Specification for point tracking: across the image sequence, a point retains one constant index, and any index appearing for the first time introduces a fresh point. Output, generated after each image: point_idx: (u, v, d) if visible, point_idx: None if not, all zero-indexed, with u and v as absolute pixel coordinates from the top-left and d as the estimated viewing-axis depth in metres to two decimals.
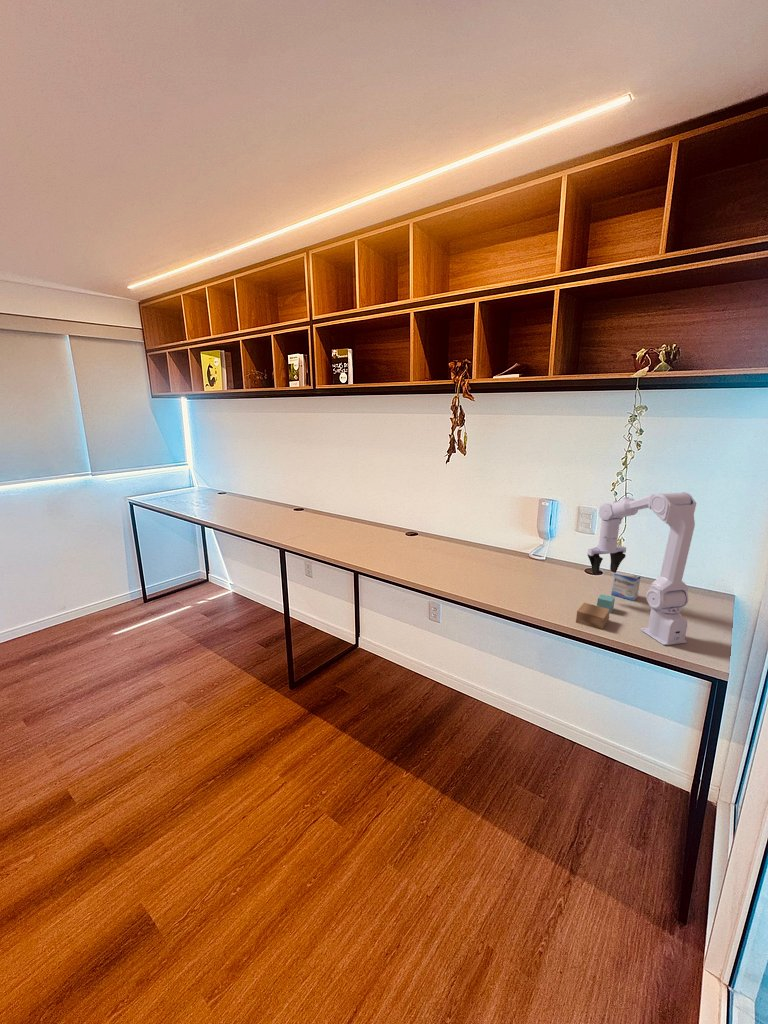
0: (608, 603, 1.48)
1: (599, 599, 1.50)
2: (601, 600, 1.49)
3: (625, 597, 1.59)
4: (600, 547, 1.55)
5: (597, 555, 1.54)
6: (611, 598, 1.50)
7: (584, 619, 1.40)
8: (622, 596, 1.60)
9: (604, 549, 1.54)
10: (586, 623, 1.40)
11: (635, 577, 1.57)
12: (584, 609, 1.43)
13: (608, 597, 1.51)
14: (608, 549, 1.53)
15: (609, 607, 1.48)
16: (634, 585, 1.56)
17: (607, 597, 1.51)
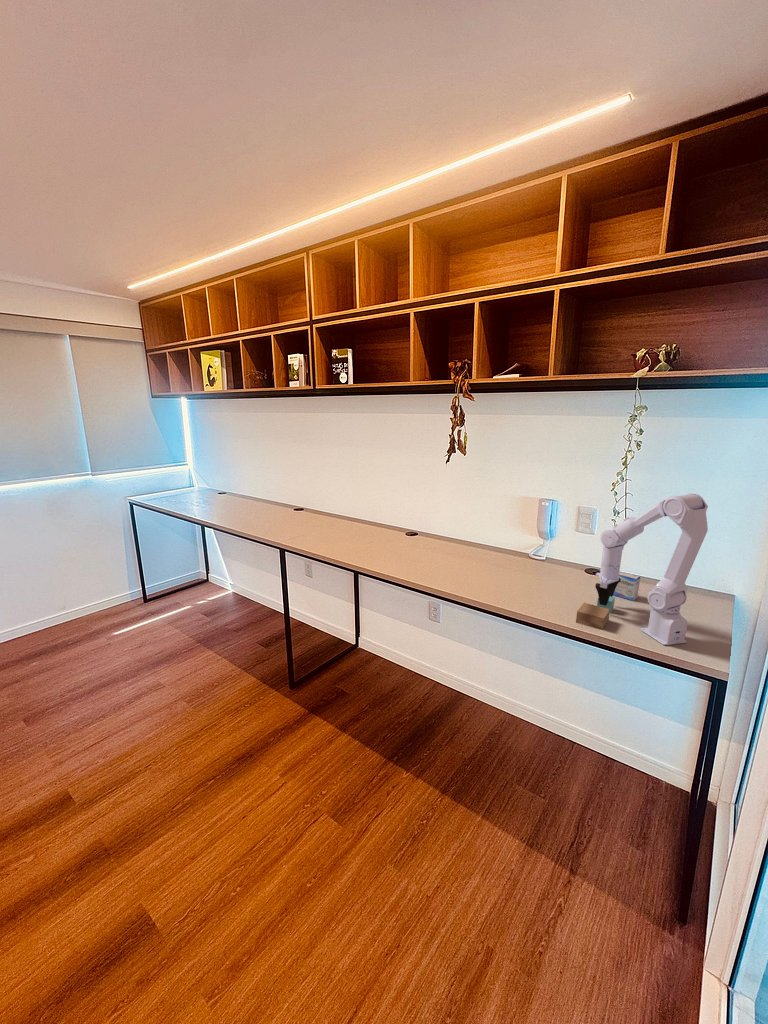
0: (608, 603, 1.48)
1: None
2: None
3: (625, 597, 1.59)
4: (606, 576, 1.46)
5: (608, 586, 1.45)
6: (611, 598, 1.50)
7: (584, 619, 1.40)
8: (622, 596, 1.60)
9: (612, 578, 1.46)
10: (586, 623, 1.40)
11: (635, 577, 1.57)
12: (584, 609, 1.43)
13: None
14: (615, 577, 1.46)
15: (609, 607, 1.48)
16: (634, 585, 1.56)
17: None
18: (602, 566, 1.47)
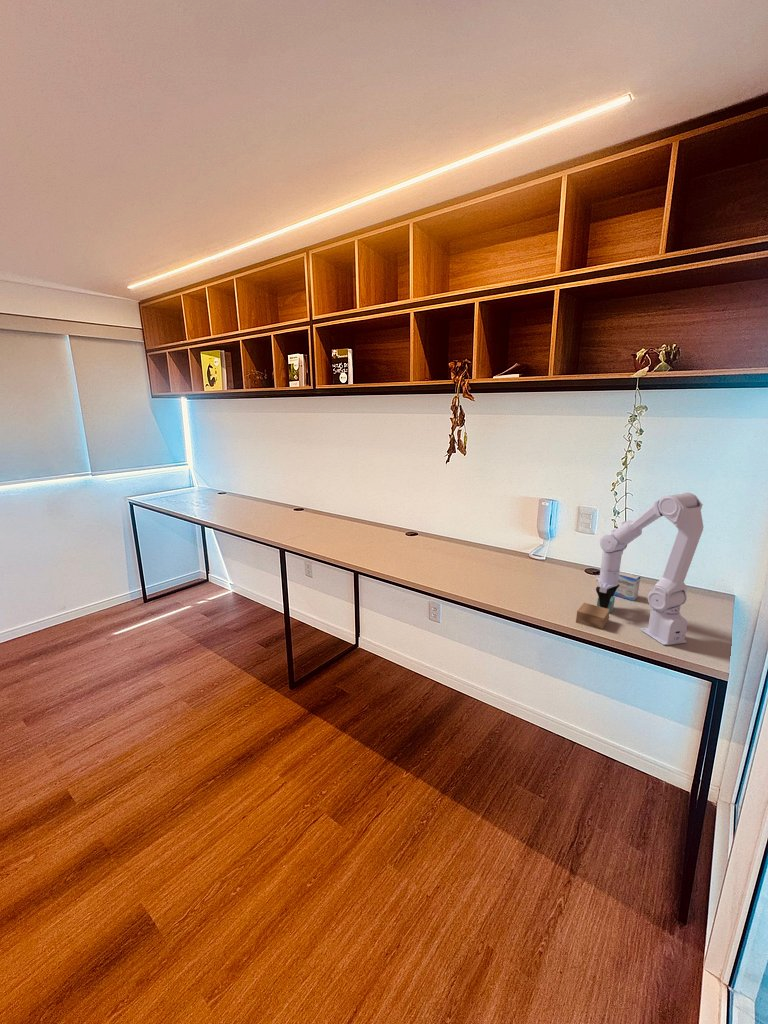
0: None
1: None
2: None
3: (625, 597, 1.59)
4: (606, 581, 1.47)
5: (607, 590, 1.45)
6: (611, 598, 1.50)
7: (584, 619, 1.40)
8: (622, 596, 1.60)
9: (611, 583, 1.46)
10: (586, 623, 1.40)
11: (635, 577, 1.57)
12: (584, 609, 1.43)
13: None
14: (615, 582, 1.46)
15: (609, 607, 1.48)
16: (634, 585, 1.56)
17: None
18: (601, 571, 1.48)
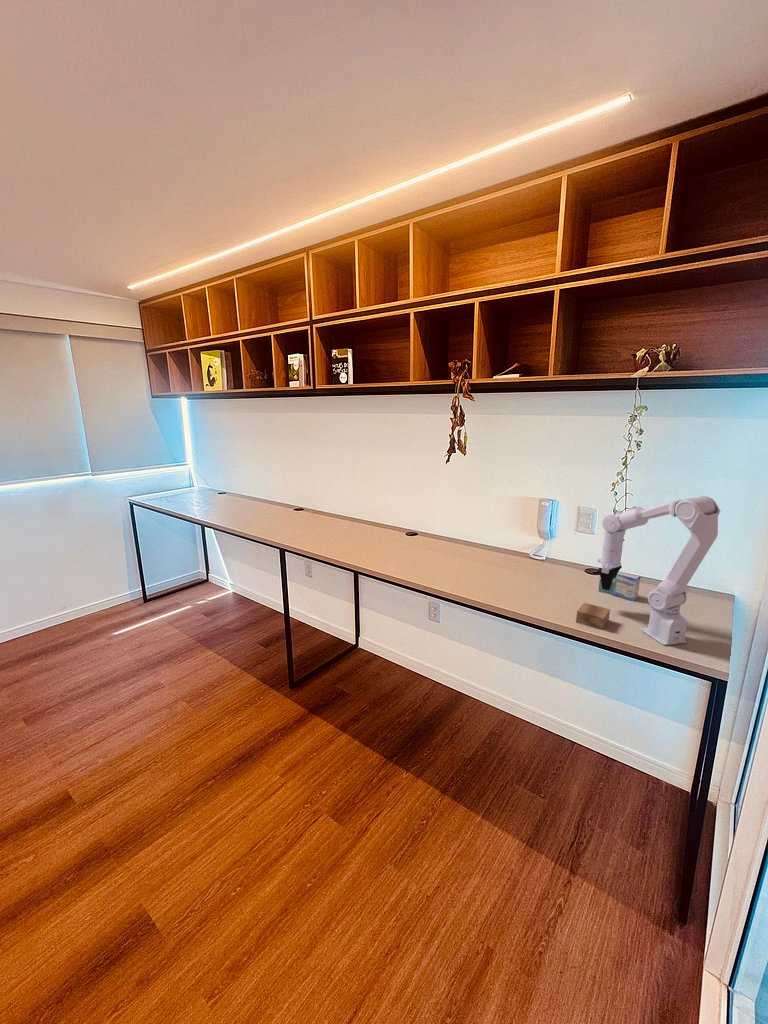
0: None
1: None
2: None
3: (625, 597, 1.59)
4: (608, 562, 1.45)
5: (609, 571, 1.43)
6: (613, 580, 1.48)
7: (584, 619, 1.40)
8: (622, 596, 1.60)
9: (614, 563, 1.44)
10: (586, 623, 1.40)
11: (635, 577, 1.57)
12: (584, 609, 1.43)
13: None
14: (617, 563, 1.44)
15: (611, 588, 1.46)
16: (634, 585, 1.56)
17: None
18: (604, 551, 1.46)
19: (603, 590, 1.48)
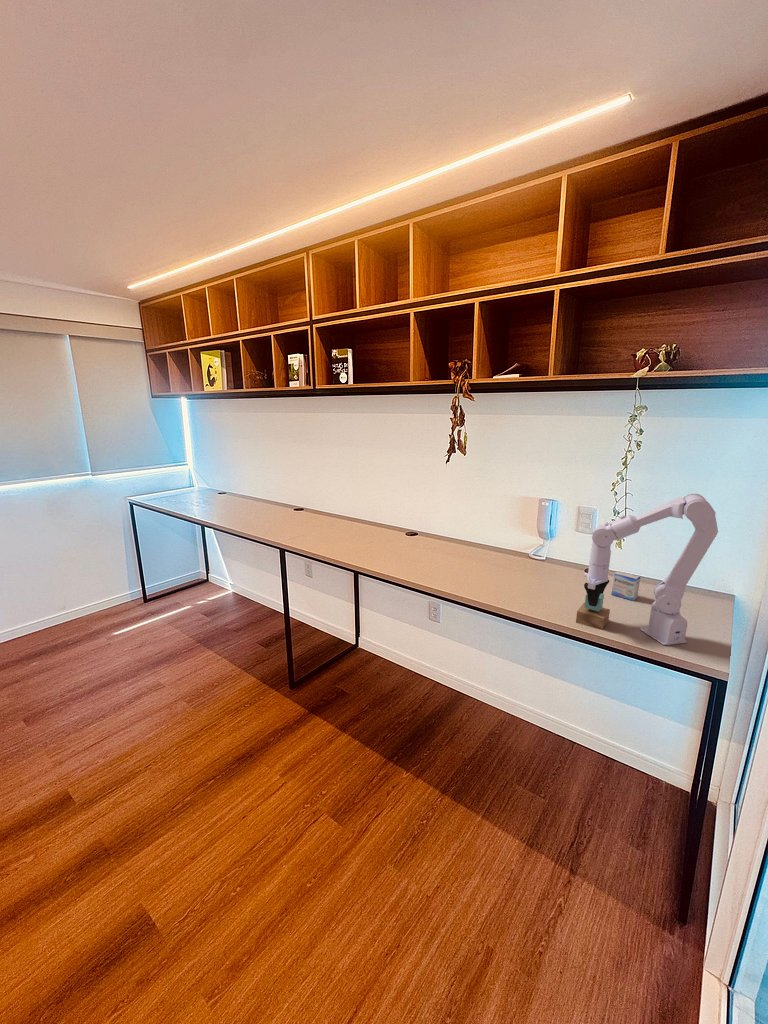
0: None
1: (587, 596, 1.40)
2: None
3: (625, 597, 1.59)
4: (595, 577, 1.37)
5: (596, 587, 1.36)
6: None
7: (584, 619, 1.40)
8: (622, 596, 1.60)
9: (600, 578, 1.36)
10: (586, 623, 1.40)
11: (635, 577, 1.57)
12: (584, 609, 1.43)
13: None
14: (604, 578, 1.36)
15: (598, 604, 1.39)
16: (634, 585, 1.56)
17: None
18: (590, 566, 1.38)
19: (589, 606, 1.40)
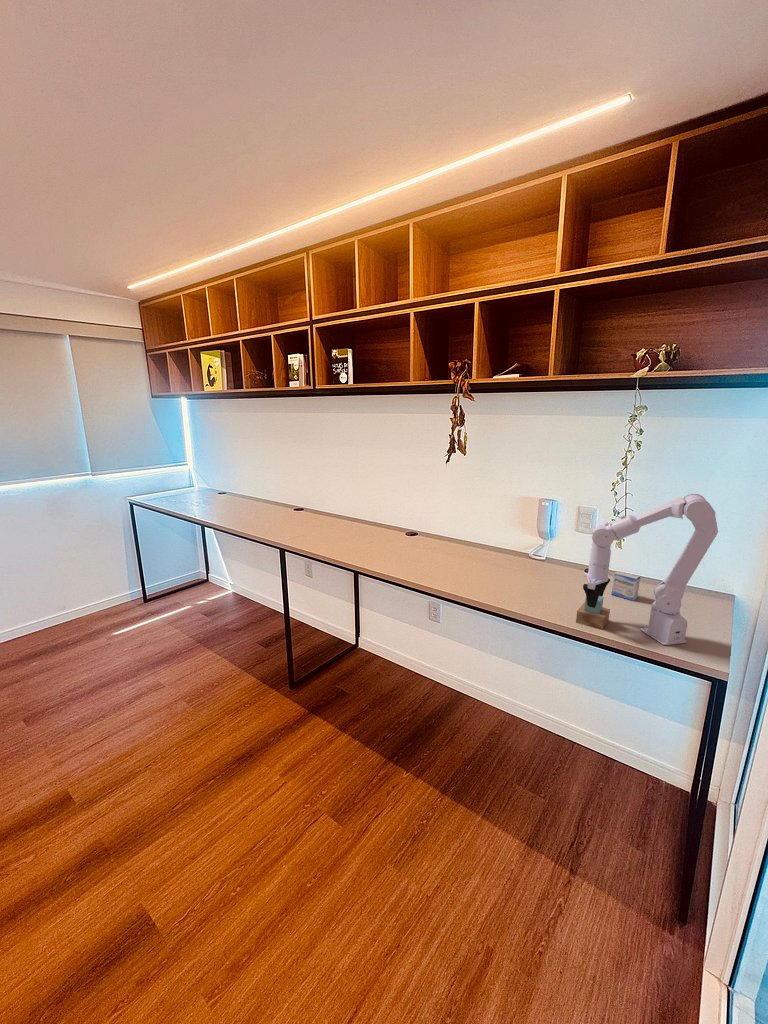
0: (597, 603, 1.39)
1: None
2: None
3: (625, 597, 1.59)
4: (595, 577, 1.37)
5: (596, 587, 1.36)
6: (599, 598, 1.40)
7: (584, 619, 1.40)
8: (622, 596, 1.60)
9: (600, 578, 1.36)
10: (586, 623, 1.40)
11: (635, 577, 1.57)
12: None
13: None
14: (604, 578, 1.36)
15: (597, 607, 1.39)
16: (634, 585, 1.56)
17: None
18: (590, 566, 1.38)
19: (589, 609, 1.41)
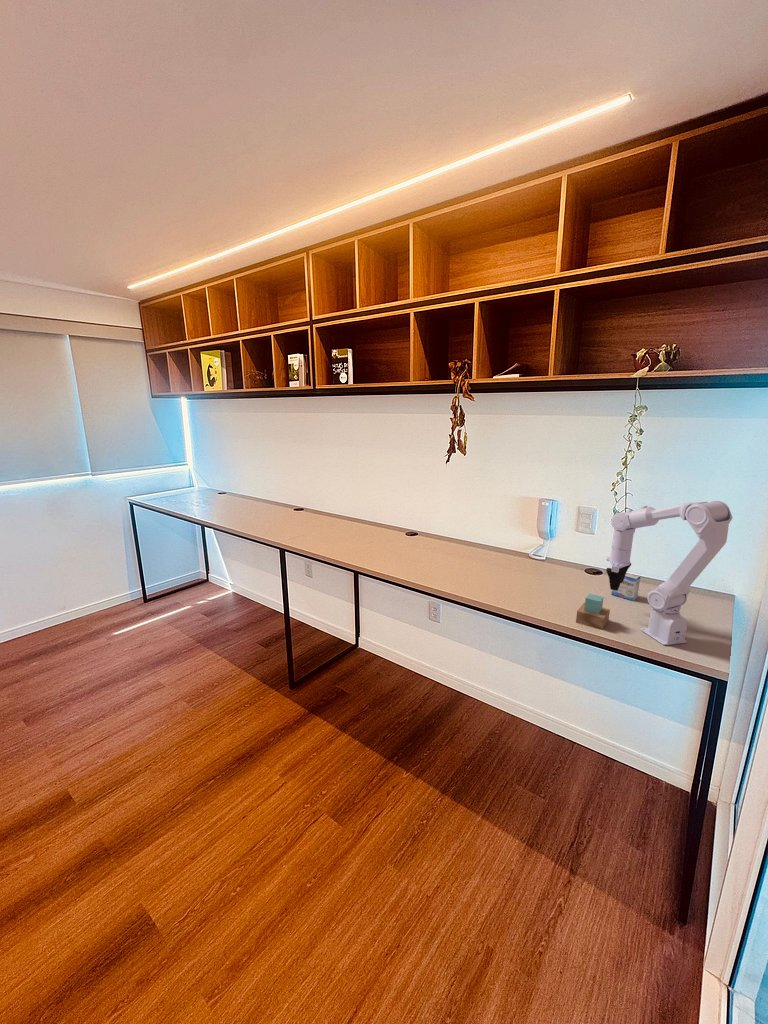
0: (597, 603, 1.39)
1: (587, 599, 1.41)
2: (589, 599, 1.40)
3: (625, 597, 1.59)
4: (618, 561, 1.43)
5: (619, 570, 1.41)
6: (599, 598, 1.40)
7: (584, 619, 1.40)
8: (622, 596, 1.60)
9: (623, 562, 1.42)
10: (586, 623, 1.40)
11: (635, 577, 1.57)
12: None
13: (597, 596, 1.42)
14: (627, 561, 1.42)
15: (597, 607, 1.39)
16: (634, 585, 1.56)
17: (595, 597, 1.41)
18: (613, 550, 1.44)
19: (589, 609, 1.41)
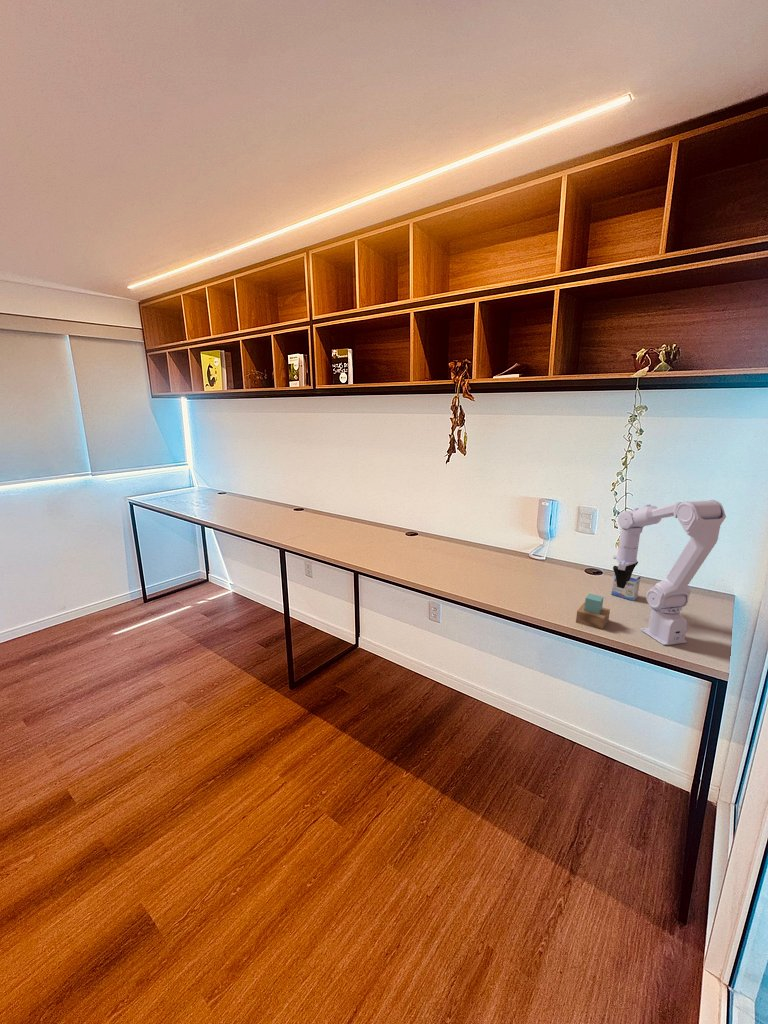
0: (597, 603, 1.39)
1: (587, 599, 1.41)
2: (589, 599, 1.40)
3: (625, 597, 1.59)
4: (624, 559, 1.45)
5: (626, 568, 1.43)
6: (599, 598, 1.40)
7: (584, 619, 1.40)
8: (622, 596, 1.60)
9: (630, 560, 1.44)
10: (586, 623, 1.40)
11: (635, 577, 1.57)
12: None
13: (597, 596, 1.42)
14: (633, 559, 1.44)
15: (597, 607, 1.39)
16: (634, 585, 1.56)
17: (595, 597, 1.41)
18: (620, 548, 1.46)
19: (589, 609, 1.41)
